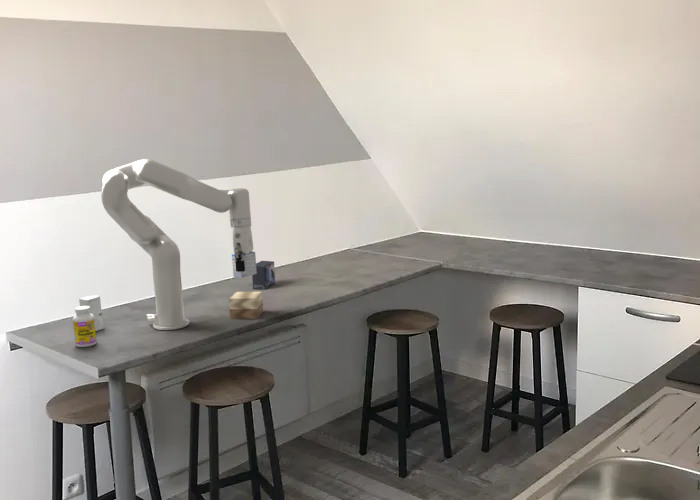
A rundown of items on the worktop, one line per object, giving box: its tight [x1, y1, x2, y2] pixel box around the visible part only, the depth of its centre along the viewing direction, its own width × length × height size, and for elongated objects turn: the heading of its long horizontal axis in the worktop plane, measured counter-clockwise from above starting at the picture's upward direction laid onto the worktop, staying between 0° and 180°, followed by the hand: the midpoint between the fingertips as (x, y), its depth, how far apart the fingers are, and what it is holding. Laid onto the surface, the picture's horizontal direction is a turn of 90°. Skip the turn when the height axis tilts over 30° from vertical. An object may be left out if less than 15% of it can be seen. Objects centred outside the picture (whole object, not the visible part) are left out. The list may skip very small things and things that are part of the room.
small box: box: [251, 260, 276, 290], centre depth 309 cm, size 11×6×10 cm, turn 161°
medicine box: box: [231, 250, 257, 279], centre depth 263 cm, size 8×4×9 cm, turn 141°
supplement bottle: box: [72, 305, 97, 348], centre depth 237 cm, size 7×7×13 cm
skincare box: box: [78, 295, 104, 332], centre depth 253 cm, size 6×4×12 cm
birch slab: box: [228, 291, 264, 310], centre depth 266 cm, size 10×10×4 cm
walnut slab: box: [229, 302, 264, 320], centre depth 266 cm, size 10×10×4 cm
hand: (244, 268), depth 263 cm, fingers closed on medicine box, 9 cm apart
